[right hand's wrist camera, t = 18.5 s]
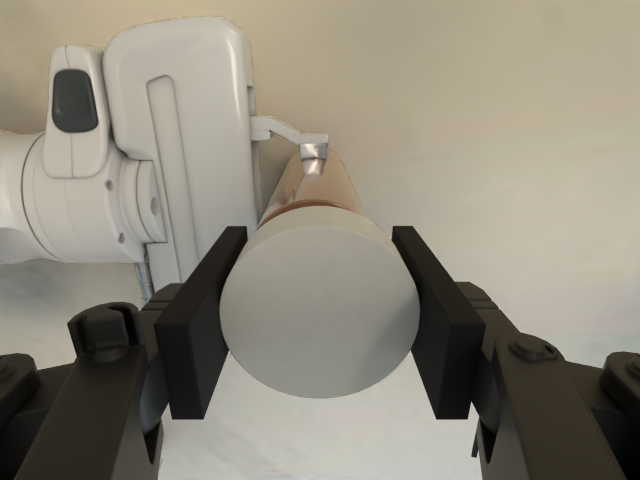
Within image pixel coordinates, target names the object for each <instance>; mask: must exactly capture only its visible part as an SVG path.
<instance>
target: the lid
mask: <svg viewBox="0 0 640 480" xmlns="http://www.w3.org/2000/svg"><path fill="white" fill-rule="evenodd" d="M219 312H220V321H221V329H222V333H223V337H224V339H225V342H226V344H227V346H228V348H229V350H230V351H231V353H232V355H233V356H234V358H235V359H236V360H237V361H238V363H239V364H240V365H241V366H242V367H243V368H244V369H245V370H246V371H247V372H248V373H249V374H250V375H252V376H253V377H254V378H256V379H257V380H258V381H260V382H262V383H264V384H265V385H267V386H269V387H271V388H273V389H275V390H278V391H281V392H284V393H287V394H290V395H294V396H299V397H306V398H334V397H340V396H345V395H350V394H353V393H356V392H359V391H362V390H364V389H366V388H369V387H371V386H373V385H374V384H376V383H378V382H380V381H381V380H383V379H384V378H385V377H387V376H388V375H389V374H390V373H392V372H393V371H394V370H395V369H396V368H397V367H398V366H399V365H400V363H401V362H402V361H403V360H404V359H405V357H406V356H407V354H408V353H409V351H410V349H411V347H412V345H413V343H414V341H415V339H416V335H417V332H418V327H419V319H420V301H419V296H418V292H417V289H416V286H415V283H414V281H413V279H412V277H411V275H410V273H409V271H408V269H407V267H406V265H405V263H404V262H403V260H402V258H401V256H400V254H399V252H398V250H397V248H396V246H395V245H394V243H393V242H392V241H391V239H390V238H389V236H388V235H387V234H386V233H385V232H384V231H383V230H382V229H381V228H380V227H378V226H377V225H376V224H374V223H373V222H372V221H370V220H369V219H367V218H365V217H363V216H362V215H359V214H357V213H355V212H352V211H349V210H346V209H342V208H337V207H330V206H310V207H302V208H298V209H294V210H290V211H288V212H285V213H283V214H280V215H278V216H276V217H275V218H273V219H271V220H269V221H268V222H267V223H265V224H264V225H263V226H261V227H260V228H259V229H258V230H257V231H256V232H255V233H254V234H253V235H252V236H251V238H250V239H249V240H248V241H247V243H246V244H245V246H244V248H243V250H242V251H241V253H240V255H239V257H238V259H237V261H236V263H235V265H234V266H233V268H232V270H231V272H230V274H229V276H228V278H227V280H226V282H225V285H224V287H223V290H222V294H221V299H220V308H219Z"/></svg>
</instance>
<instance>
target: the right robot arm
mask: <svg viewBox="0 0 640 480" xmlns="http://www.w3.org/2000/svg"><path fill="white" fill-rule="evenodd" d="M247 241H248V235H247V226H227V227H226V228H225V230H224V231H223V232H222V234H221V235H220V236H219V238H218V239H217V240H216V242H215V243H214V244H213V246H212V247H211V248H210V250H209V251H208V252H207V254H206V255H205V256H204V258H203V259H202V260H201V262H200V263H199V264H198V266H197V267H196V268H195V270H194V271H193V272H192V274H191V275H190V276H189V278H188V279H187V280H186V282H185V283H170V284H168V285H166V286H165V287H163V288H161V289H160V290H158V291H157V292H156V293H155V294H154V295H153V296H152V297H151V299H150V300H149V302H148V303H146V304H145V306H144V307H143V308H142V311H139V312H138V308H137V307H136V306H135V305H133V304H131V303H126V302H111V303H106V304H102V305H97V306H95V307H92V308H89V309H87V310H84V311H83V312H81V313H79V314H77V315H76V316H74V317H73V318H72V319H71V320H70V321H69V322H68V323H67V325H68V328H69V332H70V335H71V338H72V342H73V345H74V348H75V352H76V355H77V358H76V359H75V361H74V363H71V364H66V365H61V366H56V367H51V368H46V369H41V370H37V367H36V365H35V362H34V359H33V358H32V357H31V356H29V355H28V354H19V353H15V354H8V355H1V356H0V480H158V472H159V464H160V457H161V449H162V442H163V434H164V432H163V425H162V420H161V416H162V414H163V412H164V410H165V408H166V406H167V404H168V402H169V406H170V411H171V416H172V419H204V416H205V414H206V411H207V408H208V406H209V403H210V400H211V397H212V395H213V392H214V389H215V386H216V384H217V381H218V378H219V376H220V373H221V370H222V367H223V365H224V362H225V359H226V357H227V354H228V351H229V348H228V346H227V344H226V342H225V339H224V337H223V333H222V329H221V321H220V312H219V308H220V299H221V294H222V290H223V287H224V285H225V282H226V280H227V278H228V276H229V274H230V272H231V270H232V268H233V266H234V265H235V263H236V261H237V259H238V257H239V255H240V253H241V251H242V250H243V248H244V246H245V244H246V243H247ZM392 242H393V243H394V245H395V246H396V248H397V250H398V252H399V254H400V256H401V258H402V260H403V262H404V263H405V265H406V267H407V269H408V271H409V273H410V275H411V277H412V279H413V281H414V283H415V286H416V289H417V292H418V296H419V301H420V319H419V327H418V332H417V335H416V339H415V341H414V343H413V345H412V347H411V352H412V355H413V357H414V360H415V363H416V365H417V368H418V371H419V374H420V376H421V379H422V382H423V384H424V387H425V390H426V393H427V395H428V398H429V401H430V403H431V406H432V409H433V412H434V414H435V417H436V419H468V415H469V410H470V405H471V401H472V403H473V405H474V407H475V409H476V411H477V413H478V415H479V420H478V425H477V430H476V434H475V439H474V444H473V448H472V455H471V457H475V458H476V457H477V453H478V449H479V456H480V464H481V471H482V479H483V480H640V354H638V353H630V352H614V353H611V354H610V355H609V356H607V358H606V361H605V364H604V367H603V369H602V368H597V367H592V366H587V365H582V364H577V363H572V362H568V361H565V359H564V357H563V355H562V354H561V353H560V352H559V351H558V349H557V348H555V347H554V346H553V345H551V344H550V343H548V342H547V341H545V340H542V339H540V338H538V337H536V336H532V335H528V334H524V333H520V332H519V331H518V329H517V328H516V327H515V326H514V325H513V324H512V323H511V321H510V320H509V319H508V318H507V317H506V316H505V315H504V313H503V312H502V311H501V310H500V309H498V306H497V305H496V304H495V303H494V302H493V301H491V298H490V297H489V296H488V295H487V294H486V293H485V292H484V290H482V289H481V288H479V287H477V286H476V285H474V284H472V283H470V282H454V281H453V279H452V278H451V277H450V275H449V274H448V273H447V271H446V270H445V269H444V267H443V266H442V265H441V263H440V262H439V261H438V259H437V258H436V257H435V255H434V254H433V253H432V251H431V250H430V249H429V247H428V246H427V245H426V243H425V242H424V241H423V239H422V238H421V237H420V235H419V234H418V233H417V231H416V230H415V229H414V227H413V226H393V232H392Z"/></svg>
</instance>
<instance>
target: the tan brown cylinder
mask: <svg viewBox="0 0 640 480" xmlns="http://www.w3.org/2000/svg"><path fill="white" fill-rule="evenodd" d="M310 206H330V207H337V208H342V209H346V210H349V211H352V212H355V213H357V214H359V215H362V216H363V217H365V218H366V215H365V213H364V211H363V208H362V206H361V204H360V202H359V199H358V197H357V195H356V192H355V190H354V188H353V186H352V183H351V181H350V179H349V176H348V174H347V172H346V170H345V167H344V165H343V163H342V161H341V159H340V158H339V156H338V155H337V154H336V153H335V152H334V151H332V150H331V149H329V148H328V158H327V159H317V158H315V157H313V158H312V159H300V150H298V151H297V152H296V153H295V154H293V156H292V157H291V158H290V160H289V161H288V164H287V166H286V168H285V170H284V172H283V174H282V176H281V178H280V180H279V182H278V185H277V187H276V189H275V191H274V193H273V195H272V197H271V199H270V201H269V203H268V206H267V208H266V210H265V212H264V214H263V216H262V218H261V220H260V222H259V224H258V227H257V229H256V231H257V230H258V229H259V228H260V227H261V226H263V225H264V224H265V223H267V222H268V221H269V220H271V219H273V218H275V217H276V216H278V215H280V214H283V213H285V212H288V211H290V210H294V209H298V208H302V207H310ZM256 231H255V232H256Z"/></svg>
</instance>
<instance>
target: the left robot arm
mask: <svg viewBox="0 0 640 480" xmlns="http://www.w3.org/2000/svg"><path fill="white" fill-rule="evenodd" d="M274 133H276V134H278V135H280V136H281V137H283V138H285V139H287V140H289V141H290V142H292V143H294V144H296V145H298V146H299V148H300V159H312V158H313V157H315V158H317V159H327V158H328V133H300V131H299V130H298V129H296V128H294V127H292V126H291V125H289V124H287V123H285V122H284V121H282V120H280V119H279V118H277V117H275V116H256V105H255V91H254V77H253V63H252V49H251V42H250V39H249V38H248V36H247V35H246V34H245V33H244V32H243V30H242V29H241V28H240V27H239V26H237V25H236V24H235V23H234V22H232V21H231V20H229V19H227V18H225V17H221V16H198V17H185V18H175V19H168V20H161V21H156V22H150V23H145V24H140V25H136V26H132V27H129V28H127V29H124V30H122V31H120V32H119V33H117V34H116V35H115V36H113V37H112V38H111V40H110V41H109V42H108V44H107V46H106V48H104V47H99V46H91V45H61V46H58V47H56V48H55V49H54V50H53V51H52V54H51V57H50V65H49V92H48V110H47V121H46V129H45V131H43V132H39V133H35V134H28V135H21V134H18V133H14V132H10V131H6V130H0V264H14V263H21V262H25V261H28V260H31V259H35V258H46V259H49V260H53V261H57V262H61V263H134V266H135V270H136V275H137V279H138V282H139V285H140V287H141V290H142V295H143V297H142V302H143V306H145V304H146V303H148V302H149V300H150V299H151V297H152V296H153V295H154V294H155V293H156V292H157V291H158V290H160V289H161V288H163V287H165V286H166V285H168V284H170V283H185V282H186V280H187V279H188V278H189V276H190V275H191V274H192V272H193V271H194V270H195V268H196V267H197V266H198V264H199V263H200V262H201V260H202V259H203V258H204V256H205V255H206V254H207V252H208V251H209V250H210V248H211V247H212V246H213V244H214V243H215V242H216V240H217V239H218V238H219V236H220V235H221V234H222V232H223V231H224V230H225V228H226V227H227V226H247V235H248V240H249V239H250V238H251V236H252V235H253V234H254V233H255V231H256V229H257V227H258V224H259V222H260V220H261V218H262V216H263V205H262V191H261V177H260V162H259V148H258V141H269V140H270V139H271V138H273V137H274Z"/></svg>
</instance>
